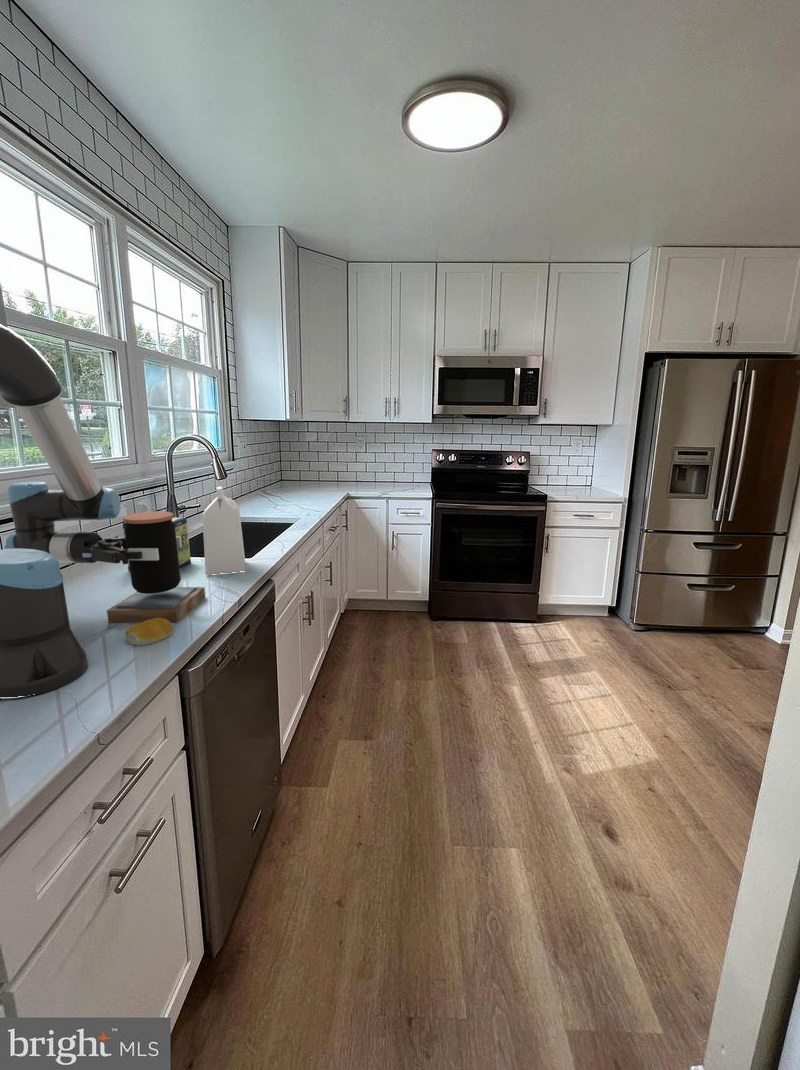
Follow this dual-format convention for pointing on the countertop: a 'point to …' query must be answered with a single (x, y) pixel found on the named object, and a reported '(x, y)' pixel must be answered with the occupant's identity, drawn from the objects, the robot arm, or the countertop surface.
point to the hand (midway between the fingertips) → (169, 547)
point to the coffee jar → (153, 534)
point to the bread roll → (148, 631)
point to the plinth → (157, 605)
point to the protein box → (183, 533)
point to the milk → (223, 536)
